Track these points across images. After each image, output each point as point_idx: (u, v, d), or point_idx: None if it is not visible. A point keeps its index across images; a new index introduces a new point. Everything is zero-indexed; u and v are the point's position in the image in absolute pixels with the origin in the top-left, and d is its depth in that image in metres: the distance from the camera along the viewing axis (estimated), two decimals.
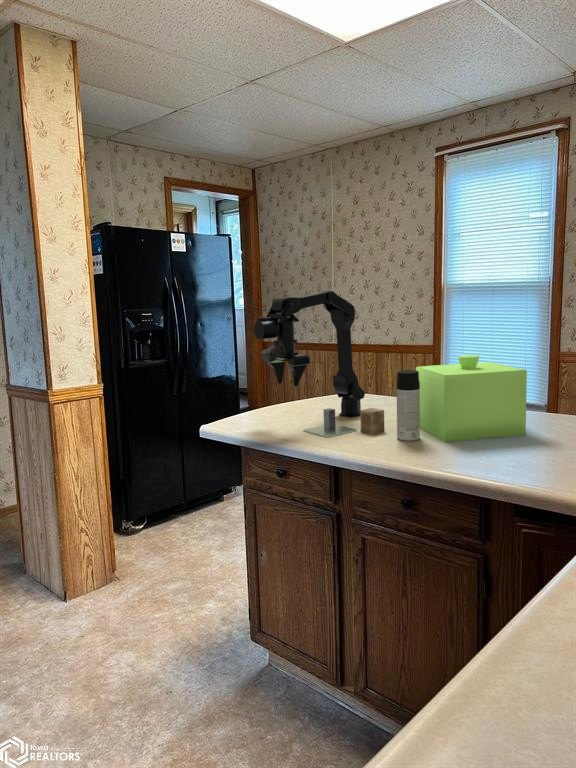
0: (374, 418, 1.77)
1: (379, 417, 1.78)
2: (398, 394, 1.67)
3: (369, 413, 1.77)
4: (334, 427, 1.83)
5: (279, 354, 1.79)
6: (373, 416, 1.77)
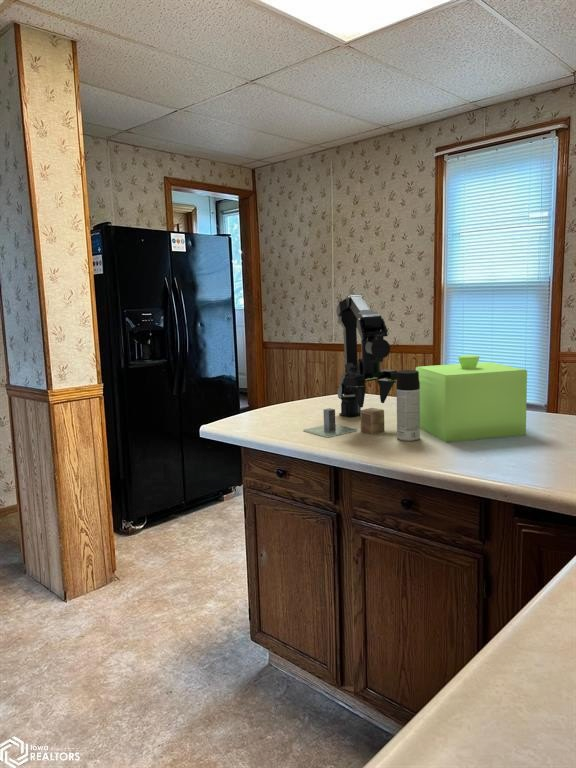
0: (374, 418, 1.77)
1: (379, 417, 1.78)
2: (398, 394, 1.67)
3: (369, 413, 1.77)
4: (334, 427, 1.83)
5: (349, 370, 1.80)
6: (373, 416, 1.77)
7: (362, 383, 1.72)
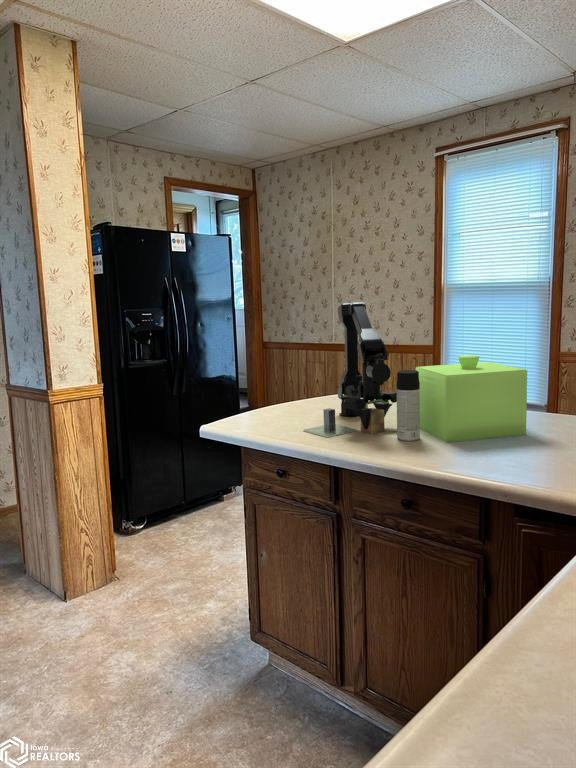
0: (374, 418, 1.77)
1: (379, 417, 1.78)
2: (398, 394, 1.67)
3: None
4: (334, 427, 1.83)
5: (350, 393, 1.81)
6: (373, 416, 1.77)
7: (363, 406, 1.73)
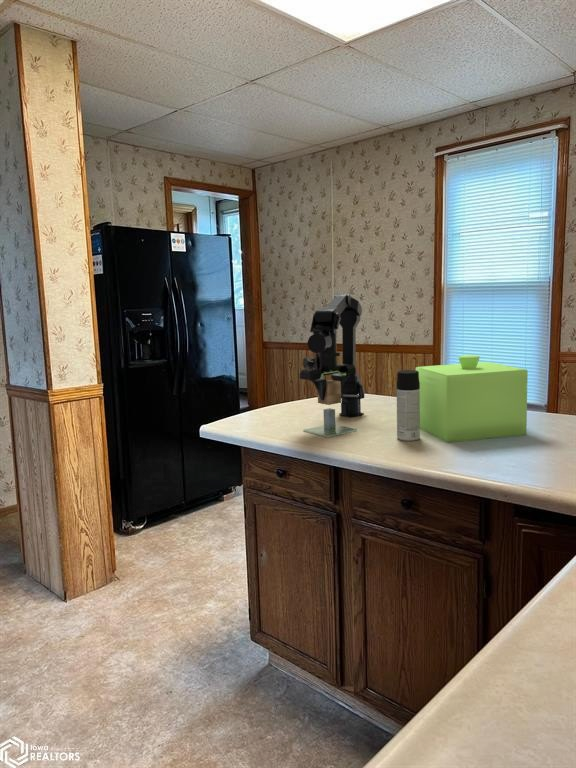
0: (330, 389, 1.78)
1: (335, 388, 1.80)
2: (398, 394, 1.67)
3: None
4: (334, 427, 1.83)
5: (306, 365, 1.82)
6: (329, 387, 1.78)
7: (318, 377, 1.74)
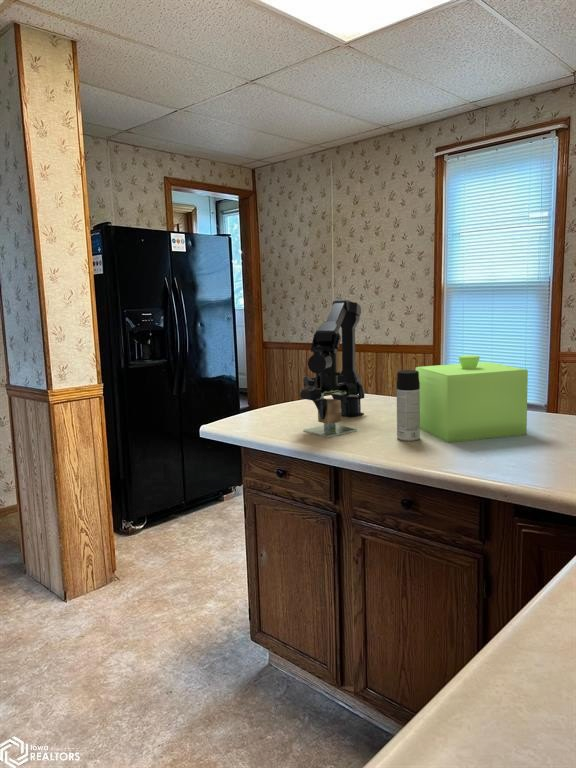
0: (330, 408, 1.79)
1: (336, 407, 1.81)
2: (398, 394, 1.67)
3: None
4: (334, 427, 1.83)
5: (307, 384, 1.83)
6: (329, 406, 1.79)
7: (318, 397, 1.75)
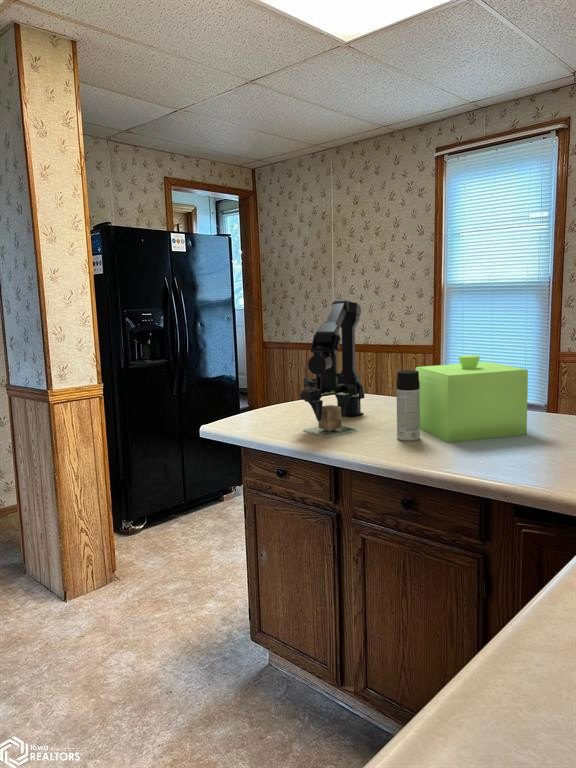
0: (331, 415, 1.80)
1: (336, 414, 1.81)
2: (398, 394, 1.67)
3: (326, 410, 1.80)
4: None
5: (307, 385, 1.83)
6: (329, 413, 1.79)
7: (318, 398, 1.75)
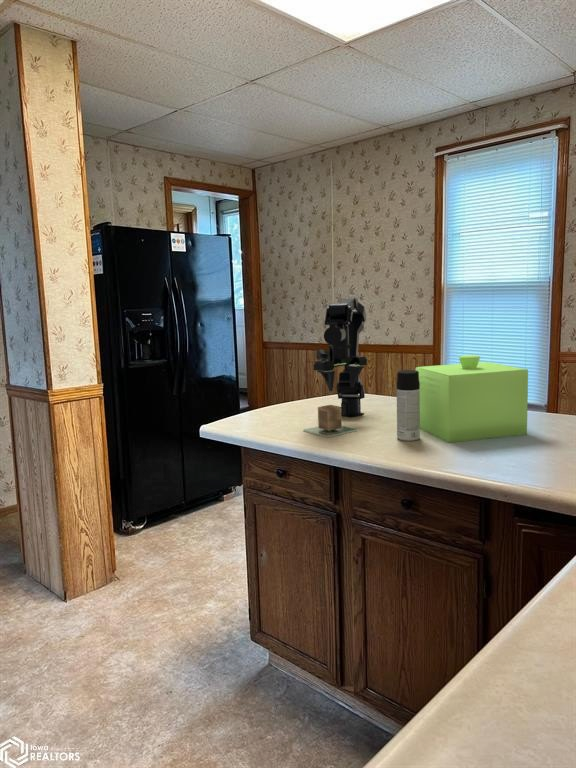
0: (331, 415, 1.80)
1: (336, 414, 1.81)
2: (398, 394, 1.67)
3: (326, 410, 1.80)
4: None
5: (320, 356, 1.90)
6: (329, 413, 1.79)
7: (331, 368, 1.82)
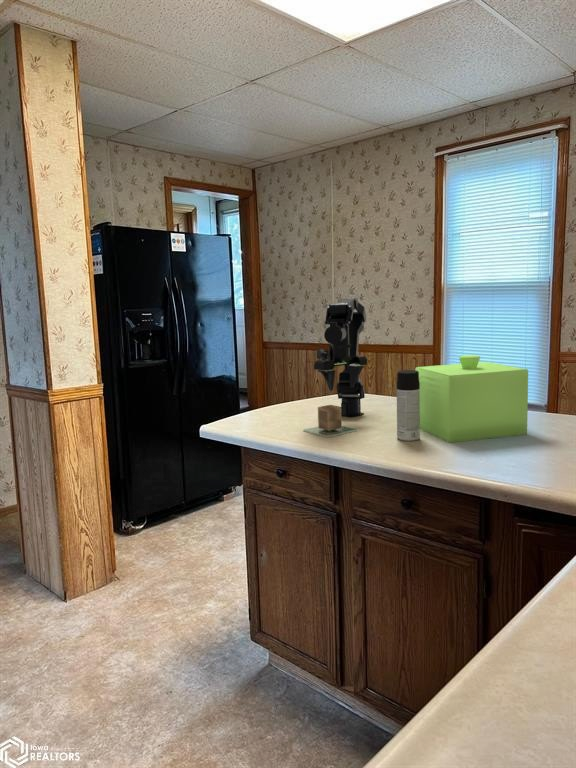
0: (331, 415, 1.80)
1: (336, 414, 1.81)
2: (398, 394, 1.67)
3: (326, 410, 1.80)
4: None
5: (320, 356, 1.90)
6: (329, 413, 1.79)
7: (331, 367, 1.83)
